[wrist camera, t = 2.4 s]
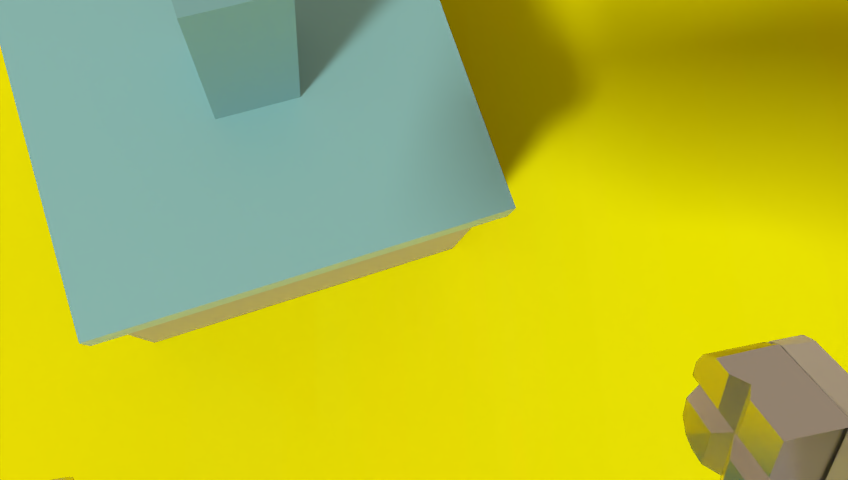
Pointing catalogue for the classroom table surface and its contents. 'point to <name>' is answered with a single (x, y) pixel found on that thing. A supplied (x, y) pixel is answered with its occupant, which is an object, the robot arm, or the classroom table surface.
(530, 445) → the classroom table surface
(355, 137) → the lid
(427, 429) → the classroom table surface
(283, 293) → the grey open box
